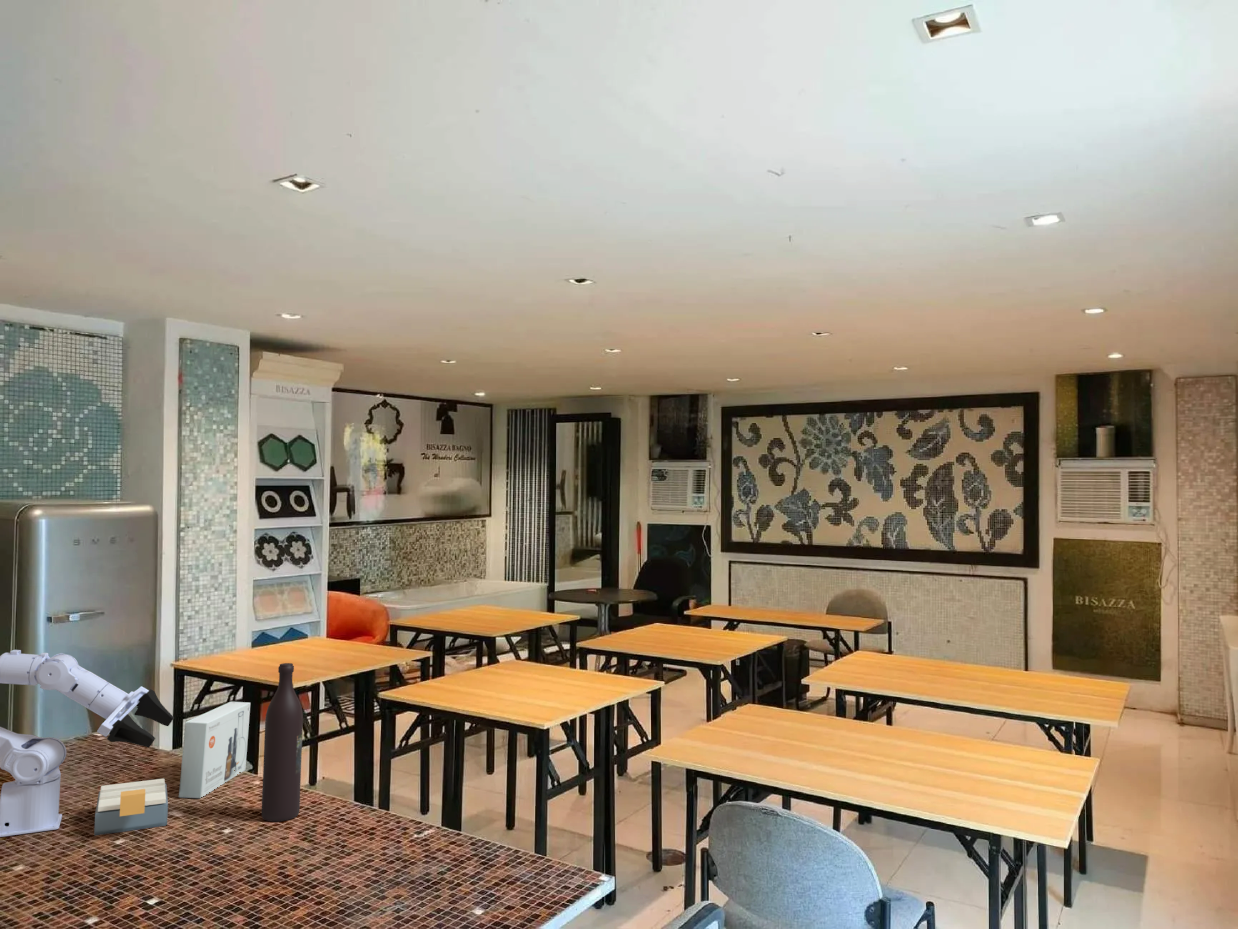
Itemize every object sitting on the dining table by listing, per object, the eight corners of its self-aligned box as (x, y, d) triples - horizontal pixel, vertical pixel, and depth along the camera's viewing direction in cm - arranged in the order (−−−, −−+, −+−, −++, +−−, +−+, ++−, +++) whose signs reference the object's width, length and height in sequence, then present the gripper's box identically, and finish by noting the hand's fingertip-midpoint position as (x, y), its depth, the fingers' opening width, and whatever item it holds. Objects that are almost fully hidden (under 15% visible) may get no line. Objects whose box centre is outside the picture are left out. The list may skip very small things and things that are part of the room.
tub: (94, 835, 160) (95, 813, 161) (97, 812, 173) (98, 791, 173) (167, 825, 166) (167, 804, 166) (165, 803, 178) (166, 783, 179)
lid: (96, 819, 157) (97, 799, 157) (101, 789, 173) (102, 771, 173) (166, 810, 162) (167, 790, 163) (164, 782, 179) (165, 764, 179)
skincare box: (203, 799, 181) (206, 722, 182) (177, 798, 182) (181, 722, 182) (248, 769, 202) (251, 700, 203) (225, 769, 203) (228, 700, 203)
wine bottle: (299, 820, 170) (305, 666, 172) (261, 824, 168) (267, 668, 169) (298, 808, 177) (304, 660, 179) (261, 812, 174) (267, 662, 176)
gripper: (87, 700, 160) (153, 737, 162) (129, 663, 174) (188, 698, 176) (69, 727, 162) (135, 764, 164) (112, 689, 176) (171, 723, 178)
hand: (161, 732), depth 170 cm, fingers open, 7 cm apart
